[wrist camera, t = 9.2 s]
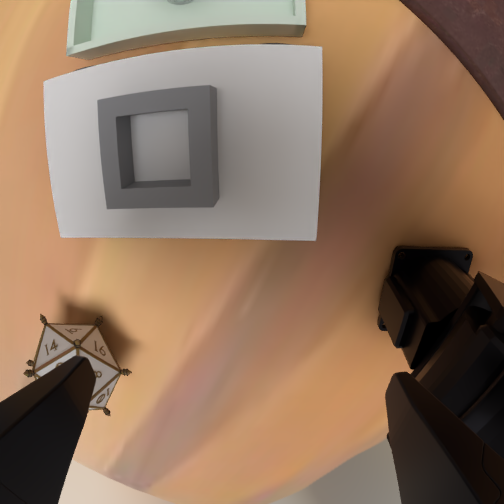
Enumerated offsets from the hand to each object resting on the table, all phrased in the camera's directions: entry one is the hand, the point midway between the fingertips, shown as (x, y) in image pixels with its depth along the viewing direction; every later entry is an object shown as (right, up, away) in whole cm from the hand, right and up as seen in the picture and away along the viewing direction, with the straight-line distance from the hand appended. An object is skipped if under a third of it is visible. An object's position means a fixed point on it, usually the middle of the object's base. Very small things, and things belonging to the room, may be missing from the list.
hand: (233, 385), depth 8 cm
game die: (-13, -4, +16) cm, 21 cm away
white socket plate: (-3, +10, +9) cm, 14 cm away
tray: (-3, +19, +5) cm, 20 cm away
